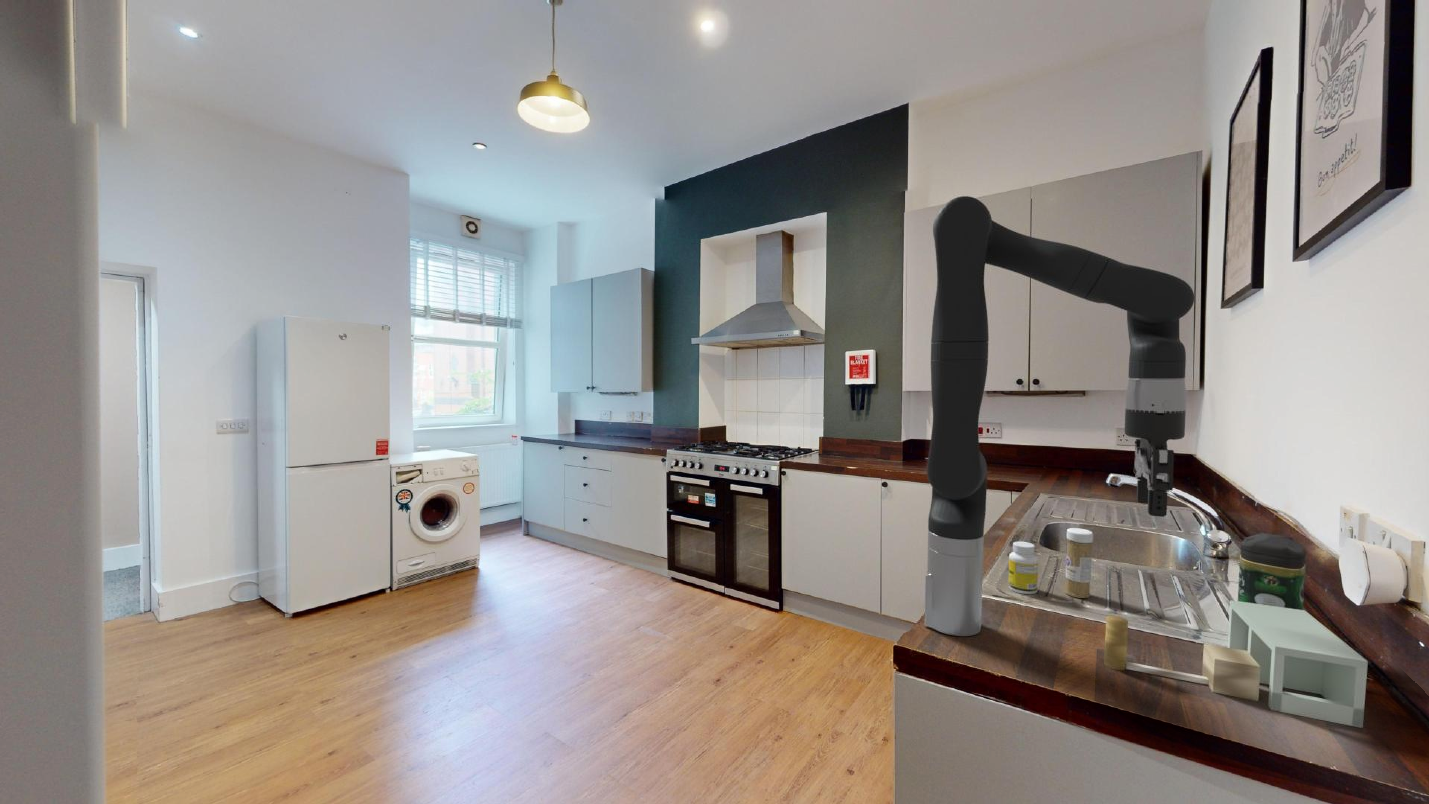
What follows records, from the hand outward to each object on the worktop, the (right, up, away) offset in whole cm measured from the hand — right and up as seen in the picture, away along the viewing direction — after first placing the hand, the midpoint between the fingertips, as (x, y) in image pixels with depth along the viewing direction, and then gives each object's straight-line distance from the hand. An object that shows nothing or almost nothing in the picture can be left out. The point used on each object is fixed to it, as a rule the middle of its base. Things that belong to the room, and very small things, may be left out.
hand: (1150, 509), depth 91 cm
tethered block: (+1, -25, -4) cm, 25 cm away
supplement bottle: (-4, -23, +30) cm, 38 cm away
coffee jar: (+24, -24, +6) cm, 35 cm away
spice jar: (+5, -23, +27) cm, 36 cm away
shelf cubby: (+15, -25, -7) cm, 30 cm away
